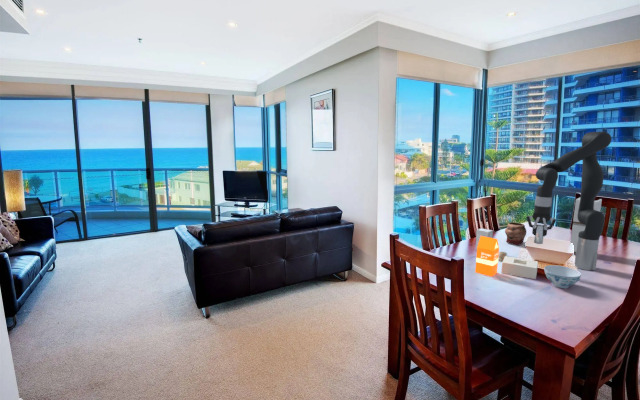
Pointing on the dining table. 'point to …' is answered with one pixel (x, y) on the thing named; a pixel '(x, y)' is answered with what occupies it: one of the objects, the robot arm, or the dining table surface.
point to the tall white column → (579, 226)
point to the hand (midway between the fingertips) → (539, 235)
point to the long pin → (539, 234)
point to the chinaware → (562, 275)
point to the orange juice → (487, 256)
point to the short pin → (502, 256)
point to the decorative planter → (515, 233)
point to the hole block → (519, 267)
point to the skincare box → (483, 233)
